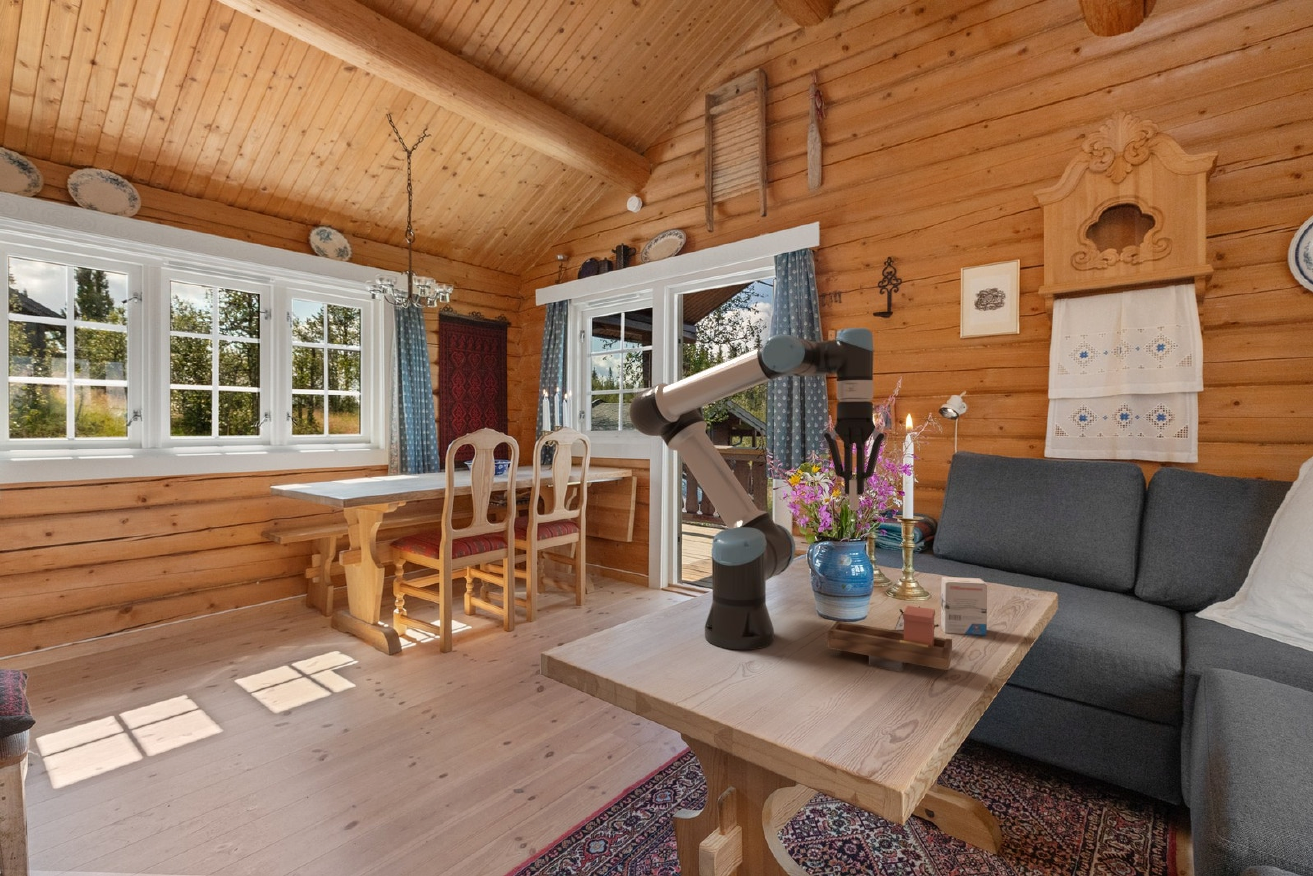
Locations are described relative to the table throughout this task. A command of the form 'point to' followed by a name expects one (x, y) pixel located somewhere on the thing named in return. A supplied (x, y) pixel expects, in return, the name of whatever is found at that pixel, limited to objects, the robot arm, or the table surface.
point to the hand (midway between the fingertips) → (854, 509)
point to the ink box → (964, 606)
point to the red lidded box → (919, 625)
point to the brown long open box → (888, 647)
